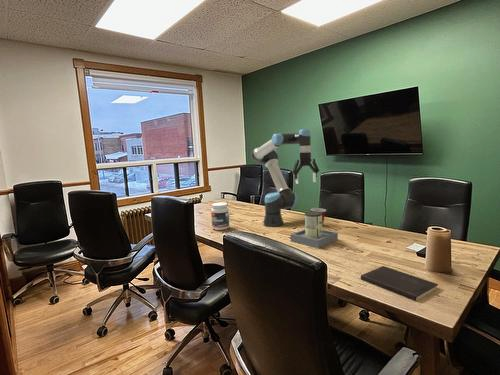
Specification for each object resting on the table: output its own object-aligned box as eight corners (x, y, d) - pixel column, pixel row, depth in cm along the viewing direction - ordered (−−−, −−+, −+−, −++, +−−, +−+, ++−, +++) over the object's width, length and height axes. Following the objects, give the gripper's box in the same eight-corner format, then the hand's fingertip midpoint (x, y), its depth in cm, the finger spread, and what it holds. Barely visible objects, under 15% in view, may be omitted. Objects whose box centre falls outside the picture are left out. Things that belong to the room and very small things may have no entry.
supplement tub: (209, 230, 211) (207, 205, 208) (215, 226, 223) (214, 202, 221) (226, 231, 208) (225, 205, 205) (231, 226, 220) (230, 202, 218)
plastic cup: (327, 227, 204) (326, 210, 203) (311, 227, 207) (310, 210, 205) (326, 223, 215) (325, 207, 213) (311, 223, 217) (310, 207, 216)
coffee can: (306, 232, 183) (305, 210, 181) (323, 233, 180) (323, 211, 178) (303, 237, 173) (303, 214, 172) (321, 238, 170) (321, 215, 168)
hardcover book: (383, 270, 132) (383, 265, 131) (438, 289, 112) (438, 284, 112) (360, 280, 123) (360, 275, 123) (415, 303, 104) (416, 296, 104)
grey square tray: (290, 241, 178) (290, 234, 177) (310, 233, 191) (310, 227, 190) (318, 248, 163) (318, 240, 162) (337, 239, 176) (337, 232, 176)
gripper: (291, 153, 192) (292, 185, 195) (324, 151, 200) (324, 182, 203) (286, 153, 199) (287, 184, 202) (318, 151, 207) (318, 181, 210)
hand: (306, 183), depth 202 cm, fingers open, 13 cm apart
